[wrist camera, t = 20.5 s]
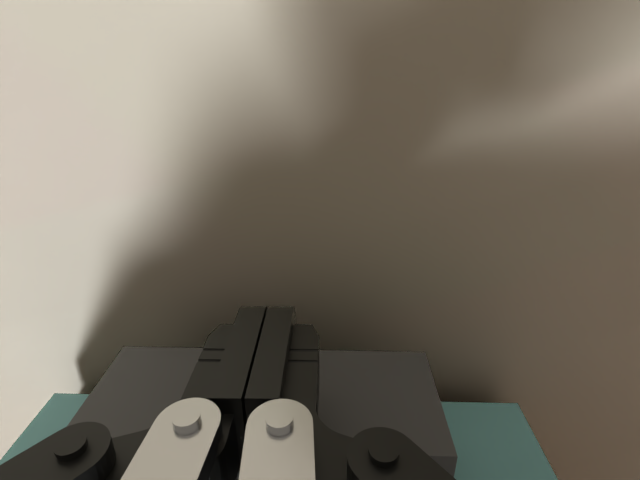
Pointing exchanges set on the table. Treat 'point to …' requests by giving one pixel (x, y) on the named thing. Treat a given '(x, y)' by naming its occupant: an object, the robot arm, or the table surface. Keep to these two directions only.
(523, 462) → the drawer
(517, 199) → the table surface
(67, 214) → the table surface
